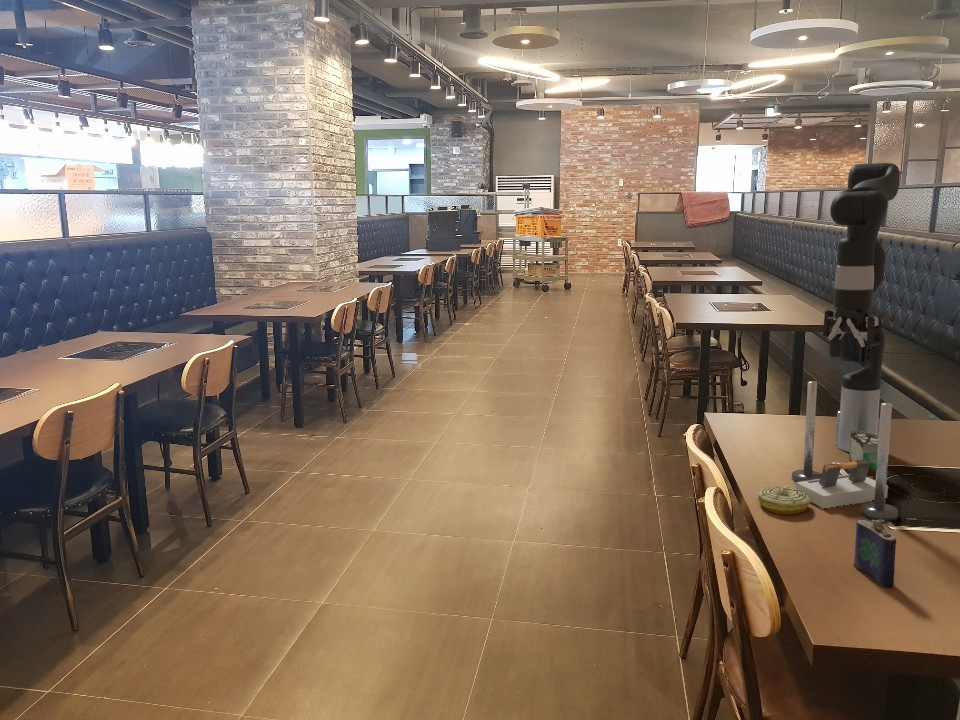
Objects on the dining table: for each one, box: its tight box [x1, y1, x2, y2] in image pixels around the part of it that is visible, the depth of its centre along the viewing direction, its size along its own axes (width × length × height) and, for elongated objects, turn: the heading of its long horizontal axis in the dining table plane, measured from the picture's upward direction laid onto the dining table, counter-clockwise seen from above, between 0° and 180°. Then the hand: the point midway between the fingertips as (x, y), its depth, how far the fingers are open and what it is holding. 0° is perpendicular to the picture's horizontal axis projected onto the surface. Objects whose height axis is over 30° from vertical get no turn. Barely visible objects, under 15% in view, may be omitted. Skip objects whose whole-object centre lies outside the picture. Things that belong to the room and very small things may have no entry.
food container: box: [848, 430, 879, 481], centre depth 178 cm, size 12×6×10 cm, turn 168°
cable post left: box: [791, 380, 822, 483], centre depth 175 cm, size 7×7×24 cm
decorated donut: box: [757, 485, 811, 516], centre depth 163 cm, size 10×11×4 cm
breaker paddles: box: [819, 459, 871, 488], centre depth 165 cm, size 2×11×5 cm, turn 106°
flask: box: [853, 519, 897, 589], centre depth 131 cm, size 9×3×11 cm, turn 8°
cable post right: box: [859, 402, 899, 523], centre depth 155 cm, size 7×7×24 cm
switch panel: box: [795, 473, 889, 510], centre depth 167 cm, size 9×17×3 cm, turn 106°
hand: (849, 360), depth 161 cm, fingers open, 8 cm apart
